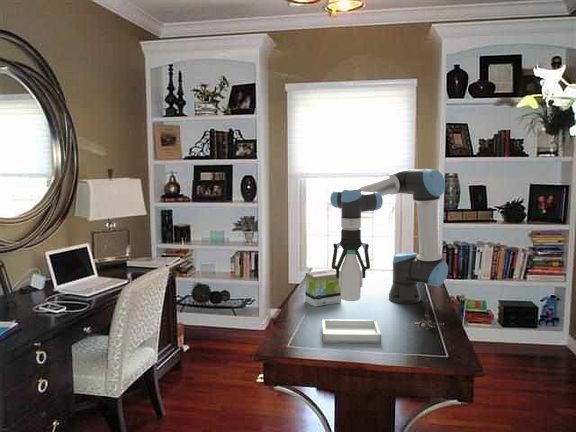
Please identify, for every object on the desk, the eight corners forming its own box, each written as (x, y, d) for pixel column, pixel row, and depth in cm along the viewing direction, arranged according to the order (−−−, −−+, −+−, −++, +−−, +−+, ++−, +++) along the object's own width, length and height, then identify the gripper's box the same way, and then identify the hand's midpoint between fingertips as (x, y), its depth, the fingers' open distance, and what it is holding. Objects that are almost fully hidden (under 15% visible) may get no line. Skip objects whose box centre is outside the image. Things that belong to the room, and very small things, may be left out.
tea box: (315, 307, 224) (315, 277, 222) (304, 301, 233) (304, 272, 231) (341, 302, 231) (342, 272, 229) (330, 297, 240) (330, 268, 238)
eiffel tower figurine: (444, 324, 202) (445, 293, 200) (446, 333, 192) (448, 301, 190) (408, 321, 205) (408, 291, 203) (408, 330, 195) (409, 299, 194)
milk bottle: (359, 302, 183) (360, 251, 180) (339, 301, 184) (340, 250, 182) (360, 296, 190) (361, 247, 188) (341, 295, 192) (341, 246, 189)
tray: (375, 328, 197) (375, 319, 196) (381, 343, 181) (381, 334, 181) (322, 327, 198) (322, 319, 198) (323, 342, 182) (323, 334, 182)
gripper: (324, 230, 181) (324, 288, 184) (378, 230, 180) (378, 289, 183) (324, 227, 188) (324, 283, 191) (376, 227, 187) (375, 283, 190)
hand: (350, 286), depth 187 cm, fingers closed on milk bottle, 7 cm apart
